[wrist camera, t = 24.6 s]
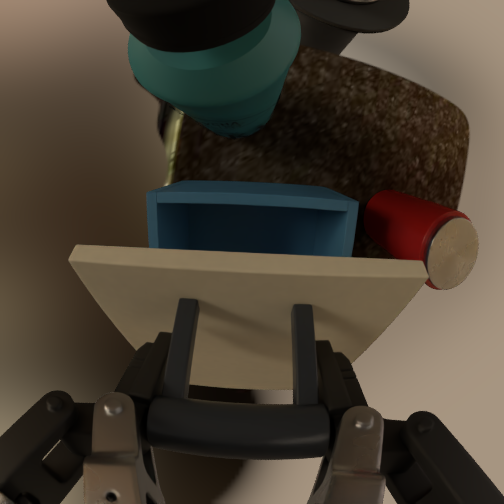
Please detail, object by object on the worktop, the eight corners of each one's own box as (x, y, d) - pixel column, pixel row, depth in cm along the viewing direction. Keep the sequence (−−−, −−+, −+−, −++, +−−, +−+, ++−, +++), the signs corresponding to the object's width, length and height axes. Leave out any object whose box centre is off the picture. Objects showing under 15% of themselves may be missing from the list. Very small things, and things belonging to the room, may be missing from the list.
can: (366, 186, 23) (433, 207, 13) (413, 193, 23) (487, 218, 13) (359, 243, 25) (414, 294, 15) (405, 246, 25) (469, 292, 15)
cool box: (182, 180, 24) (146, 192, 15) (325, 187, 24) (359, 201, 15) (188, 318, 28) (166, 372, 20) (307, 323, 28) (323, 380, 20)
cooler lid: (75, 243, 9) (17, 397, 5) (423, 259, 9) (466, 422, 4) (166, 371, 20) (156, 440, 16) (323, 379, 20) (326, 449, 16)
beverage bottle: (201, 76, 20) (84, -68, 1) (275, 74, 20) (320, -101, 1) (200, 143, 22) (25, 109, 4) (275, 142, 22) (357, 69, 3)
